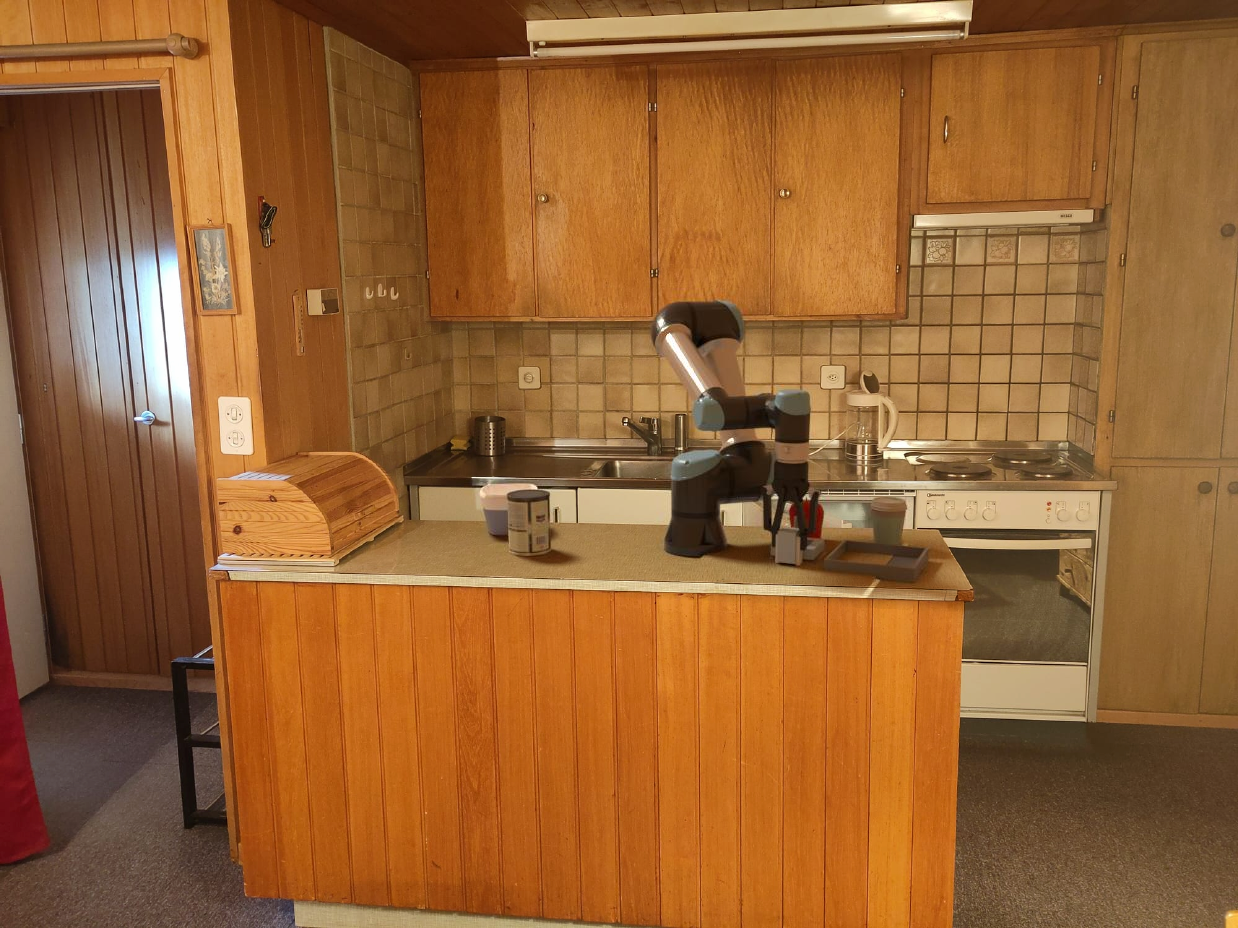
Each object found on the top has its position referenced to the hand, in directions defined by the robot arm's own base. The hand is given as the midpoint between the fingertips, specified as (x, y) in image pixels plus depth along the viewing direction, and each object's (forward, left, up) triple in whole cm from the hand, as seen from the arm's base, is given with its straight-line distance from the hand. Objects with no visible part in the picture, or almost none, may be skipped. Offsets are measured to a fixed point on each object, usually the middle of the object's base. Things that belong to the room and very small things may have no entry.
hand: (788, 562), depth 234 cm
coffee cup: (+17, +24, -1) cm, 30 cm away
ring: (0, +5, +1) cm, 5 cm away
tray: (+18, +7, -1) cm, 20 cm away
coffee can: (-61, -11, -1) cm, 62 cm away
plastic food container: (-76, +5, -1) cm, 76 cm away
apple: (-2, +21, -1) cm, 21 cm away
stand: (0, +7, -1) cm, 7 cm away
